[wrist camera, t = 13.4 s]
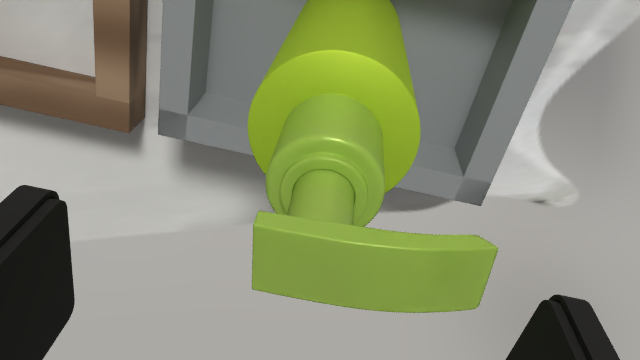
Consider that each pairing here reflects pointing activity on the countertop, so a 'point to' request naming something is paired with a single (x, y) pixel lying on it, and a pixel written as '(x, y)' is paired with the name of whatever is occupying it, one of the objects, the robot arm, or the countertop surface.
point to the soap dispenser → (348, 171)
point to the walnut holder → (85, 91)
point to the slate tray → (424, 63)
